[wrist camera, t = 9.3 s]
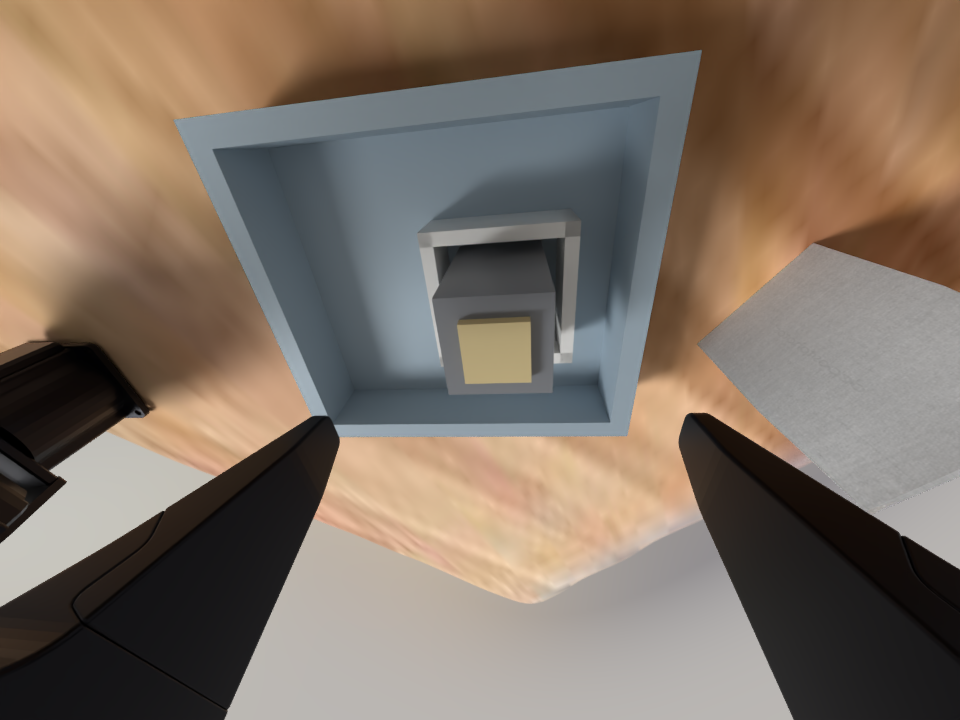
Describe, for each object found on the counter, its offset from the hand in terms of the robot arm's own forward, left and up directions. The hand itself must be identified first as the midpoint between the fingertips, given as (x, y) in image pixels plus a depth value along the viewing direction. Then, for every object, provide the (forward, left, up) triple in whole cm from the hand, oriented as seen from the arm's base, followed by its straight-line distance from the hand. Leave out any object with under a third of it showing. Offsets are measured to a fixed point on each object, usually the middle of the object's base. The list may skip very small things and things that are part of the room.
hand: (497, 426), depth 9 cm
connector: (0, 0, -11) cm, 11 cm away
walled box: (0, +3, -12) cm, 12 cm away
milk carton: (-3, -14, -12) cm, 19 cm away
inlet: (0, 0, -12) cm, 12 cm away
